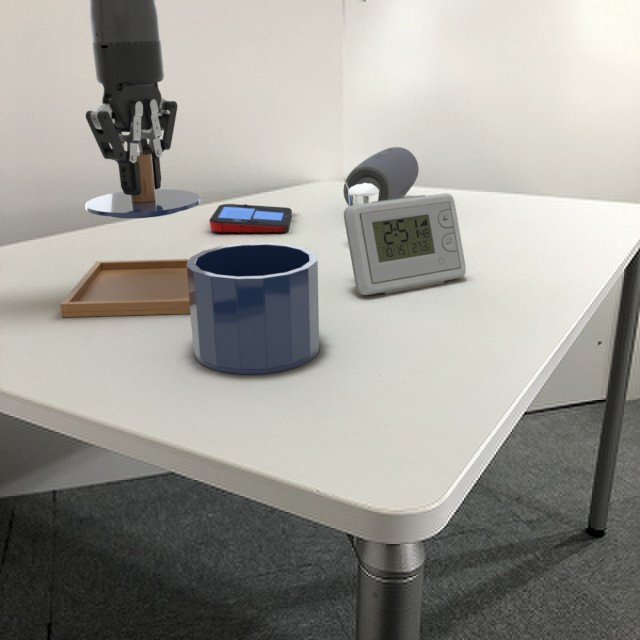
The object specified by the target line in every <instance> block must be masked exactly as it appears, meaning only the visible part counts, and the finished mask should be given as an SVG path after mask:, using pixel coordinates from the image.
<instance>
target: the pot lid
mask: <svg viewBox="0 0 640 640" xmlns="http://www.w3.org/2000/svg"><path fill="white" fill-rule="evenodd" d="M135 163H138V164H139V174H140V184H141V193H140V194H138V195H126V194H124V192H123V191H119V192H113V193H107V194H104V195H100V196H97V197H94V198H91V199H90V200H88V201H86V202H85V205H84V207H85V210H86V212H87V213H89V214H93V215H97V216H102V217H110V218H115V219H148V218H158V217H164V216H169V215H173V214H176V213H179V212H184V211H187V210H190V209H193V208H195V207H197V206H199V205H200V204H201V201H202V200H201V195H200V194H198V193H196V192H193V191H189V190H182V189H170V188H159V189H156V190H155V182H154V172H153V162H152V153H149V152H140V151H139V152H138V151H137V161H136V162H135Z"/></svg>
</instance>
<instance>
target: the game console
mask: <svg viewBox="0 0 640 640" xmlns="http://www.w3.org/2000/svg"><path fill="white" fill-rule="evenodd" d="M292 215H293V211H292V208H291V207H283V206H269V205H268V206H267V205H255V204H253V205H252V204H247V203H246V204H245V203H244V204H239V203H237V204H236V203H224V204H220V205H218V207H217V208H216V209H215V211H214V212H213V214H212V215H211V216H210V218H209V226H210V229H211V231H213V232H215V233H223V234H224V233H227V234H237V233H238V234H241V233H242V234H243V233H245V234H246V233H248V234H249V233H250V234H252V233H253V234H257V233H258V234H260V233H261V234H266V233H267V234H268V233H271V234H273V233H280V234H281V233H286V232H287V231H288V229H289V226H290V222H291V217H292Z"/></svg>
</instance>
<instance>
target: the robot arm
mask: <svg viewBox="0 0 640 640" xmlns="http://www.w3.org/2000/svg"><path fill="white" fill-rule="evenodd" d="M88 10H89V14H88V15H89V26H90V27H89V28H90V35H91V43H92V51H93V60H94V68H95V69H94V70H95V77H96V81H97V82H98V83H99V84H101V86H102V88H103V94H102V98H101V105H100V106H98V107H97V108H96V109H95V110H87V111H86V112H85V119H86V121H87V124H88V126H89V128H90V131H91V133H92V135H93V137H94V139H95V142H96V144H97V147H98V148H99V151H100V152H101V155H102V157H103V159H105V160H111V161H115V162H116V163H117V166H118V171H119V182H120V183H119V184H120V188H121V190H122V192H124V194H126V195H138V194H140V193H141V184H140V174H139V164H138V163H135V162H136V161H137V152H138V151H139V152H149V153H152V162H153V172H154V182H155V190H156V189H161V186H162V184H161V183H162V174H161V173H162V171H161V161H160V158H161V157H162V155H163V152H164V151H169V150H170V149H171V147H172V141H173V135H174V129H175V125H176V124H175V123H176V120H177V119H176V118H177V114H178V113H177V112H178V102H177V101H175V100H167V99H164V98H163V96H162V92H161V91H160V88H159V84H158V83H160V82H162V81H163V80H164V78H165V73H164V62H163V52H162V51H163V50H162V39H161V28H160V16H159V11H158V7H157V3H156V0H89V9H88ZM162 131H163V134H162ZM123 133H128V134H123ZM161 136H162V138H160V137H161ZM148 140H149V141H148ZM125 143H126V149H125Z"/></svg>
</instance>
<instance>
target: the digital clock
mask: <svg viewBox="0 0 640 640" xmlns="http://www.w3.org/2000/svg"><path fill="white" fill-rule="evenodd" d="M343 220H344V227H345V233H346V239H347V244H348V249H349V255H350V260H351V266H352V272H353V278H354V283H355V288H356V290H357V293H358V294H360V295H362V296H369V295H370V296H371V295H376V294H381V293H382V294H383V295H388V294H393V293H399V292H405V291H409V290H416V289H420V288H426V287H431V286H437V285H441V284H445V281H451V280H455V279H460V278H463V277H464V276H465V275H466V271H467V268H466V261H465V260H466V259H465V254H464V248H463V242H462V235H461V232H460V226H459V219H458V214H457V208H456V204H455V198H454V197H453V195H452V194H450V193H437V194H430V195H425V194H423V195H421V194H420V195H414V196H406V197H403V198H398V199H390V200H382V201H374V202H371V203H366V204H358V205H352V206H347V207H346V208H345V209H344V211H343Z"/></svg>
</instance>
